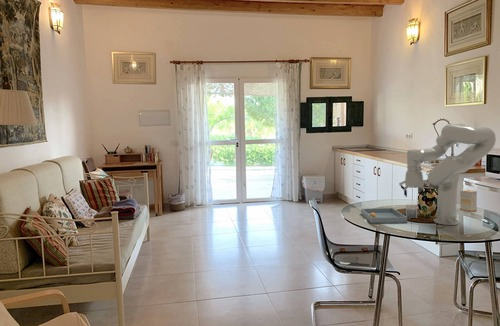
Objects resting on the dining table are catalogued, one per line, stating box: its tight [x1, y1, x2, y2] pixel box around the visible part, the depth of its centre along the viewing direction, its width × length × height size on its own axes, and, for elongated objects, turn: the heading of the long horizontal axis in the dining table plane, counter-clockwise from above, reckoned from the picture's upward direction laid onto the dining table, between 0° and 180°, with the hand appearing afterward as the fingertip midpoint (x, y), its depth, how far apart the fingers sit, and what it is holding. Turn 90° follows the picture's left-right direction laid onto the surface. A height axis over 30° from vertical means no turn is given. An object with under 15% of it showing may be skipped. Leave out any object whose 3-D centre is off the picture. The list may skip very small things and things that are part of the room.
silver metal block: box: [405, 204, 418, 219], centre depth 218 cm, size 12×6×6 cm, turn 157°
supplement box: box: [459, 188, 478, 213], centre depth 227 cm, size 8×5×13 cm, turn 22°
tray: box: [360, 207, 408, 225], centre depth 216 cm, size 24×20×4 cm
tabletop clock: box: [417, 169, 439, 195], centre depth 242 cm, size 14×9×25 cm, turn 90°
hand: (414, 196), depth 221 cm, fingers open, 9 cm apart
